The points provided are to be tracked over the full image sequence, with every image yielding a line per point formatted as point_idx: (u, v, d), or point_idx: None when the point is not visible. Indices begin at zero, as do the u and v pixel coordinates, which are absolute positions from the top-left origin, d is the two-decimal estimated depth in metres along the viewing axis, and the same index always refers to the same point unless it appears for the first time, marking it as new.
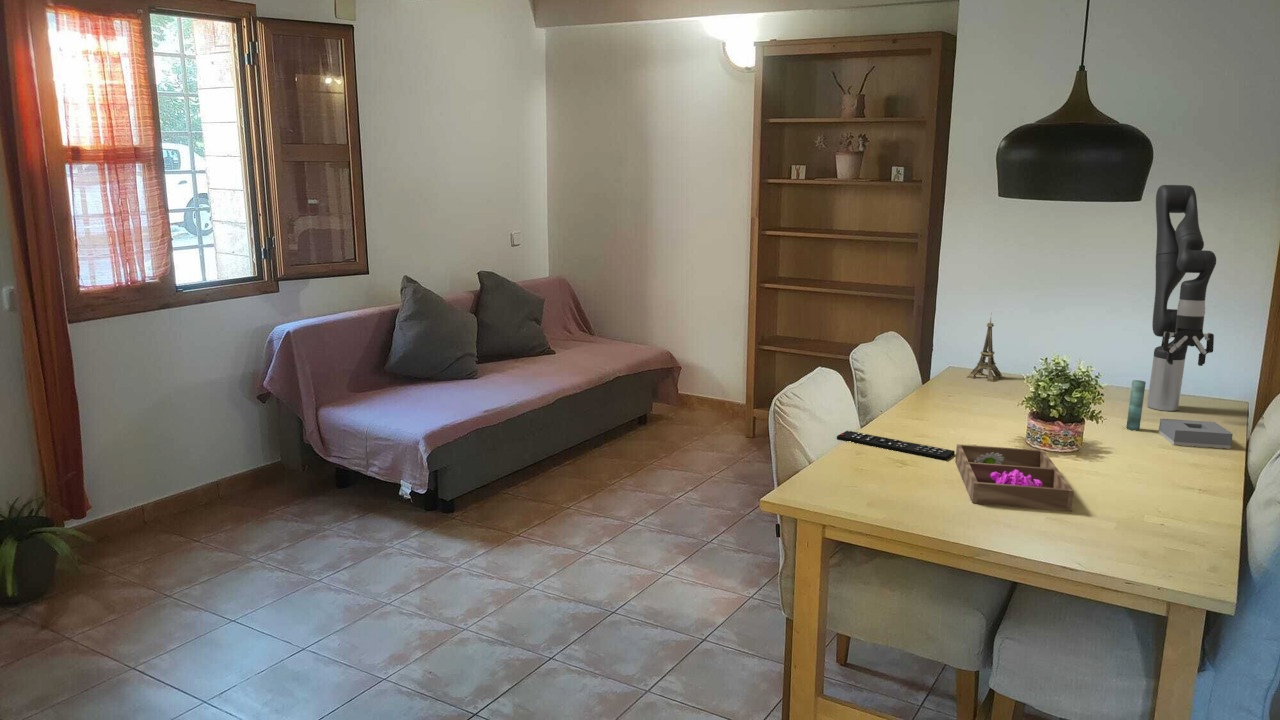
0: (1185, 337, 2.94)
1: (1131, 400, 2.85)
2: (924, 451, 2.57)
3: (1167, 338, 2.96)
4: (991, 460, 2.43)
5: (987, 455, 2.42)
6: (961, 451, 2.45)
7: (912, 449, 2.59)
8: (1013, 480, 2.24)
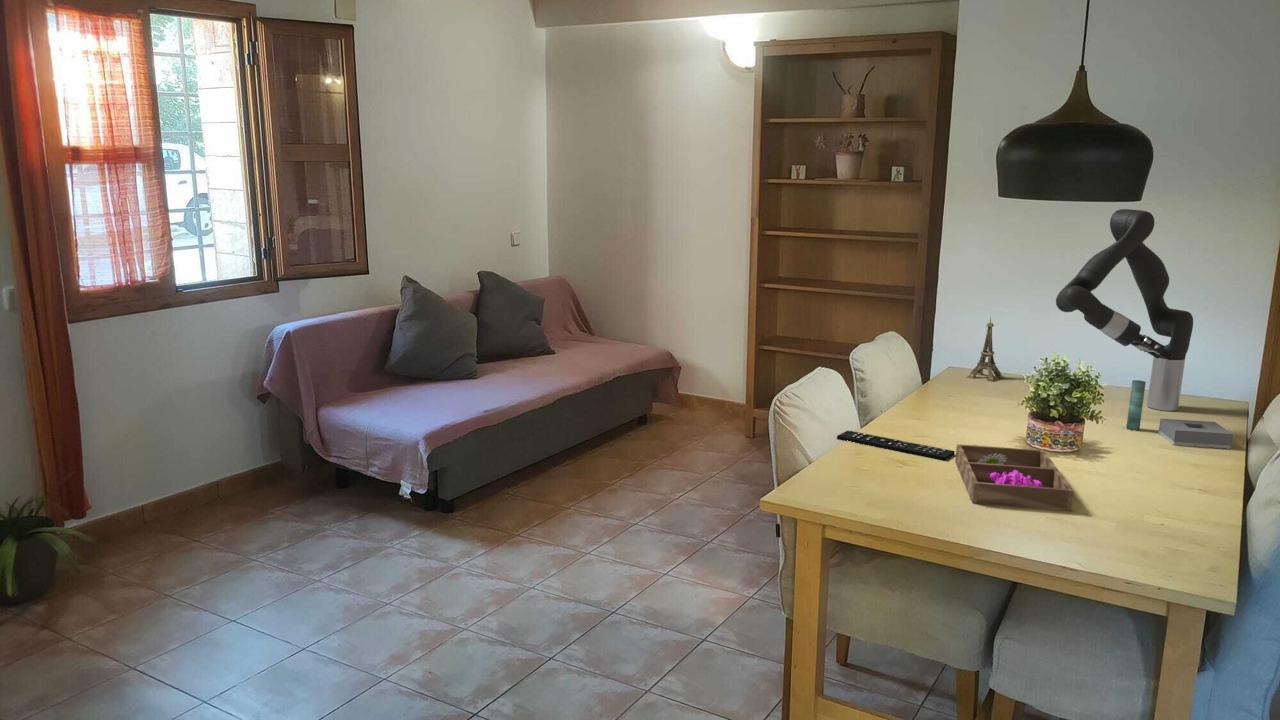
0: (1134, 346, 2.85)
1: (1131, 400, 2.85)
2: (924, 451, 2.57)
3: (1131, 344, 2.90)
4: (994, 461, 2.42)
5: (990, 456, 2.41)
6: (961, 451, 2.45)
7: (912, 449, 2.59)
8: (1013, 481, 2.24)
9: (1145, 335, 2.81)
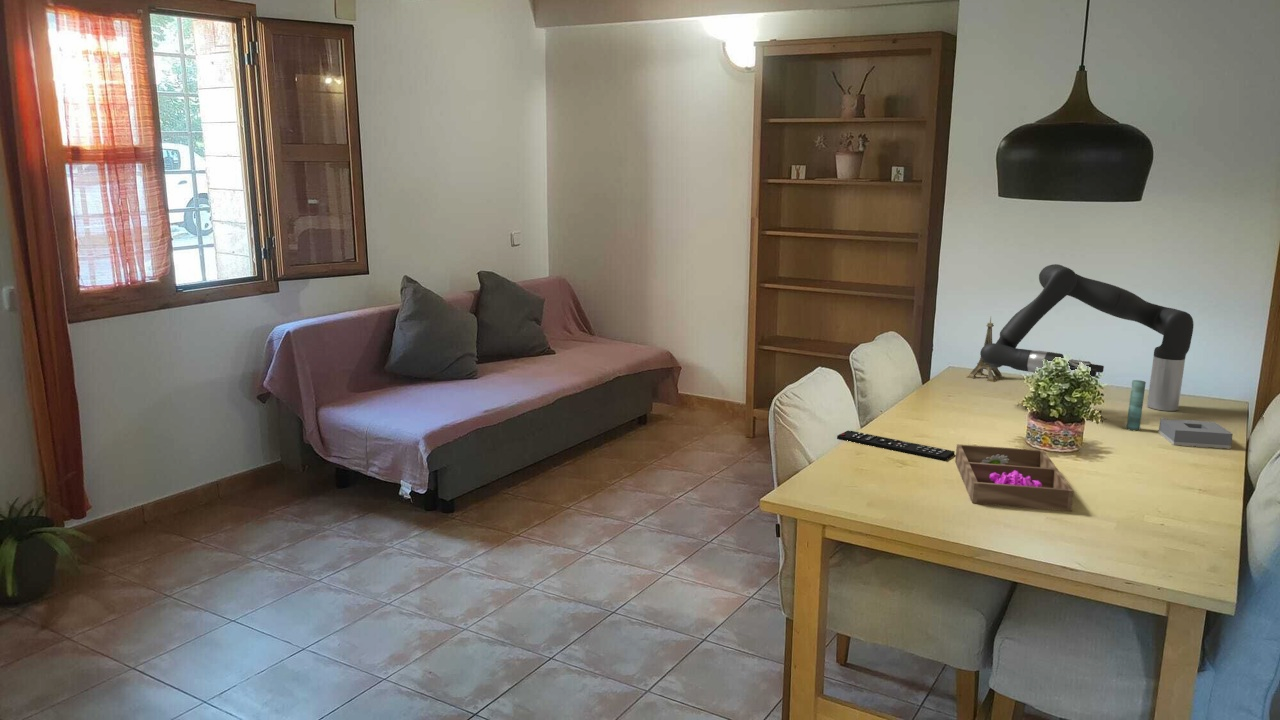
0: None
1: (1131, 400, 2.85)
2: (923, 451, 2.57)
3: None
4: (996, 462, 2.41)
5: (992, 457, 2.40)
6: (961, 451, 2.45)
7: (912, 449, 2.59)
8: (1012, 481, 2.23)
9: None
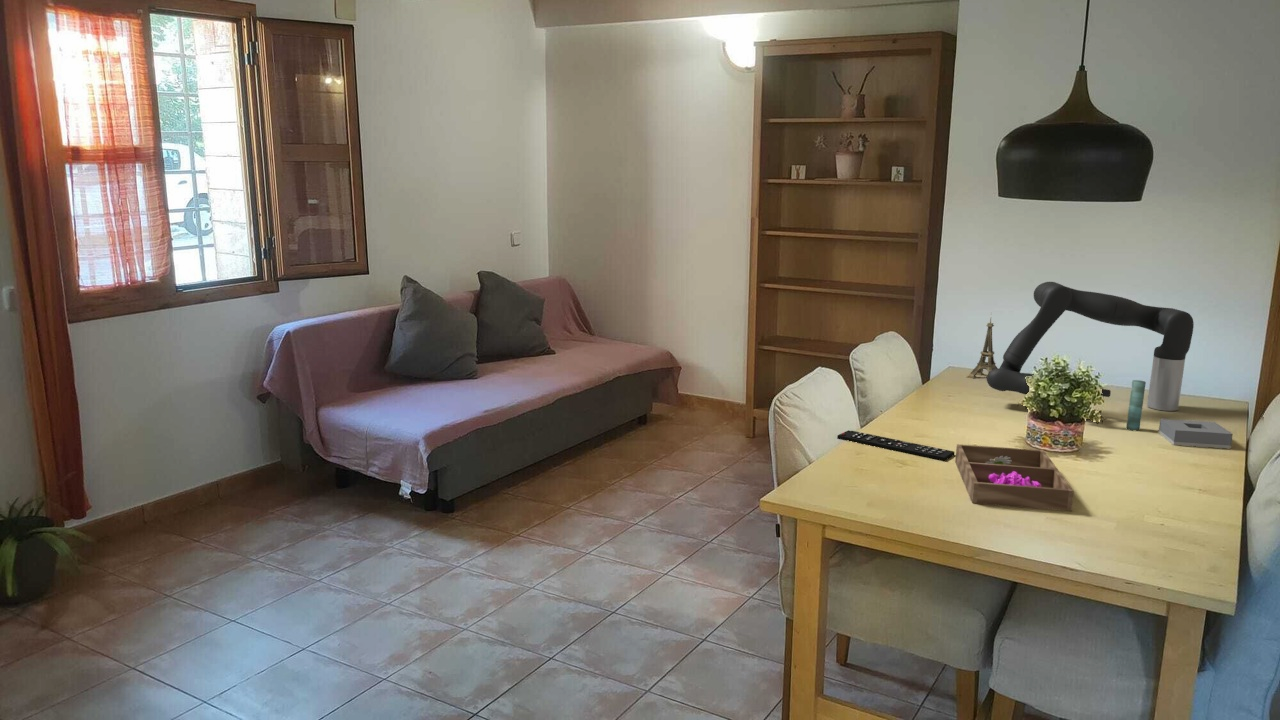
0: None
1: (1131, 400, 2.85)
2: (923, 451, 2.57)
3: None
4: None
5: (996, 459, 2.39)
6: (961, 451, 2.45)
7: (911, 449, 2.59)
8: (1011, 482, 2.23)
9: None
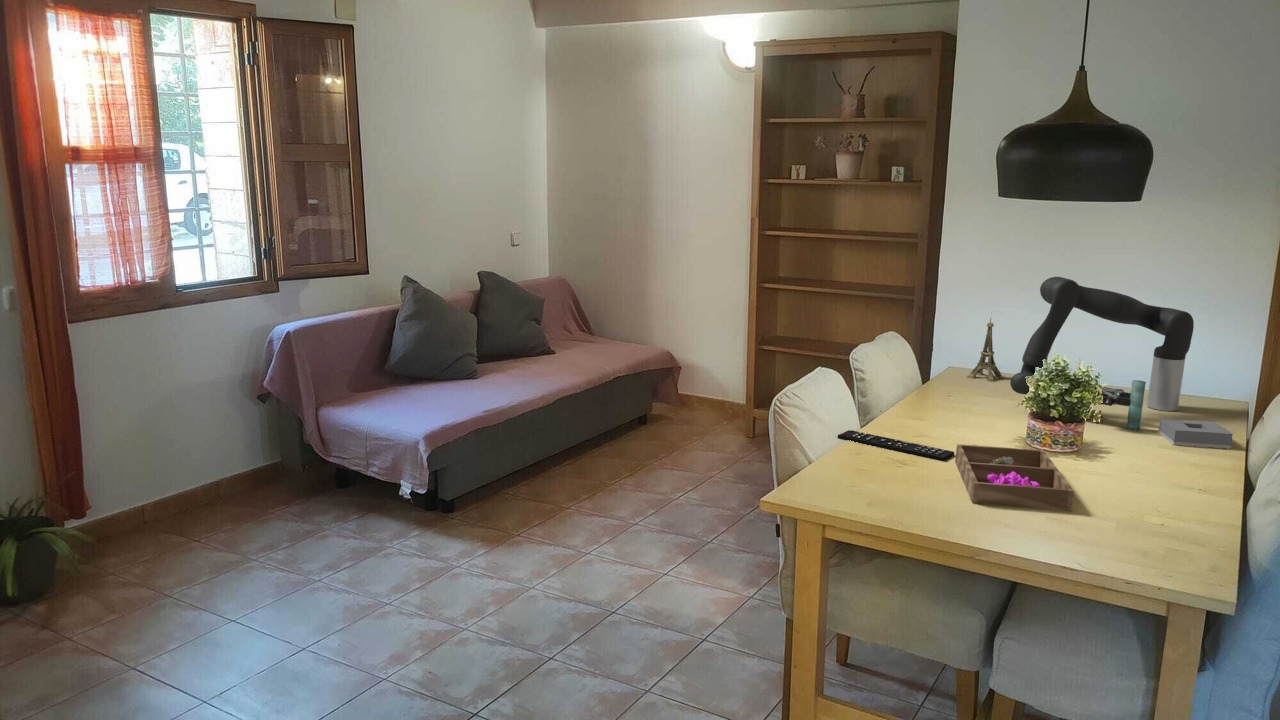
0: None
1: (1131, 400, 2.85)
2: (923, 451, 2.57)
3: None
4: (1002, 464, 2.39)
5: (999, 460, 2.38)
6: (961, 451, 2.45)
7: (911, 449, 2.59)
8: (1010, 482, 2.23)
9: None
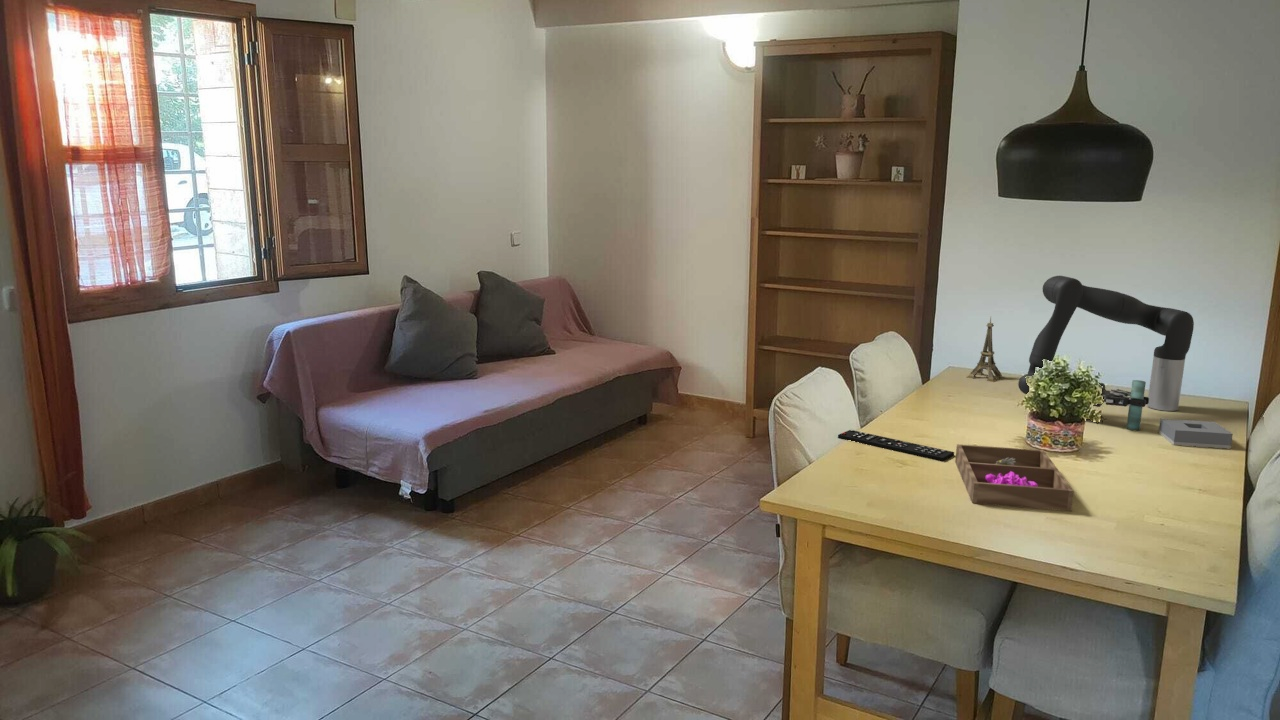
0: None
1: None
2: (922, 451, 2.57)
3: None
4: None
5: (1002, 461, 2.37)
6: (961, 451, 2.45)
7: (911, 449, 2.59)
8: (1009, 482, 2.23)
9: (1110, 391, 2.88)
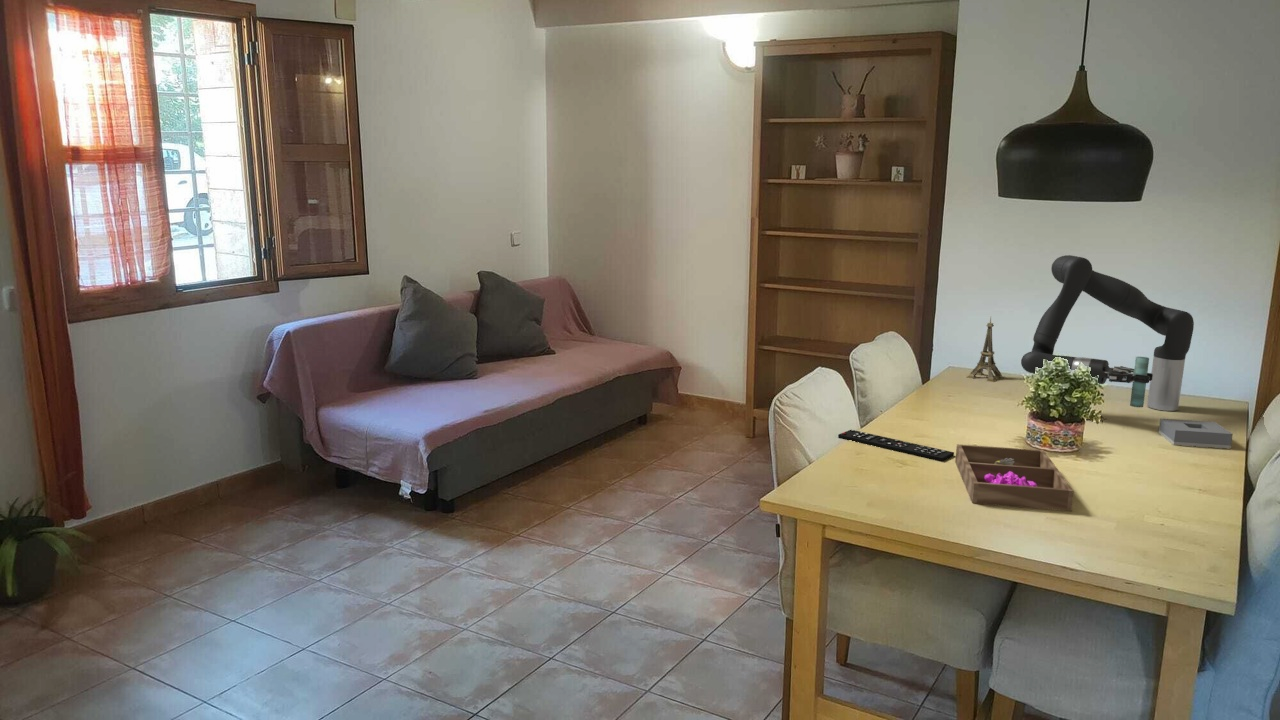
0: None
1: None
2: (922, 452, 2.57)
3: None
4: None
5: (1001, 461, 2.37)
6: (961, 451, 2.45)
7: (910, 449, 2.59)
8: (1008, 482, 2.23)
9: (1113, 368, 2.87)
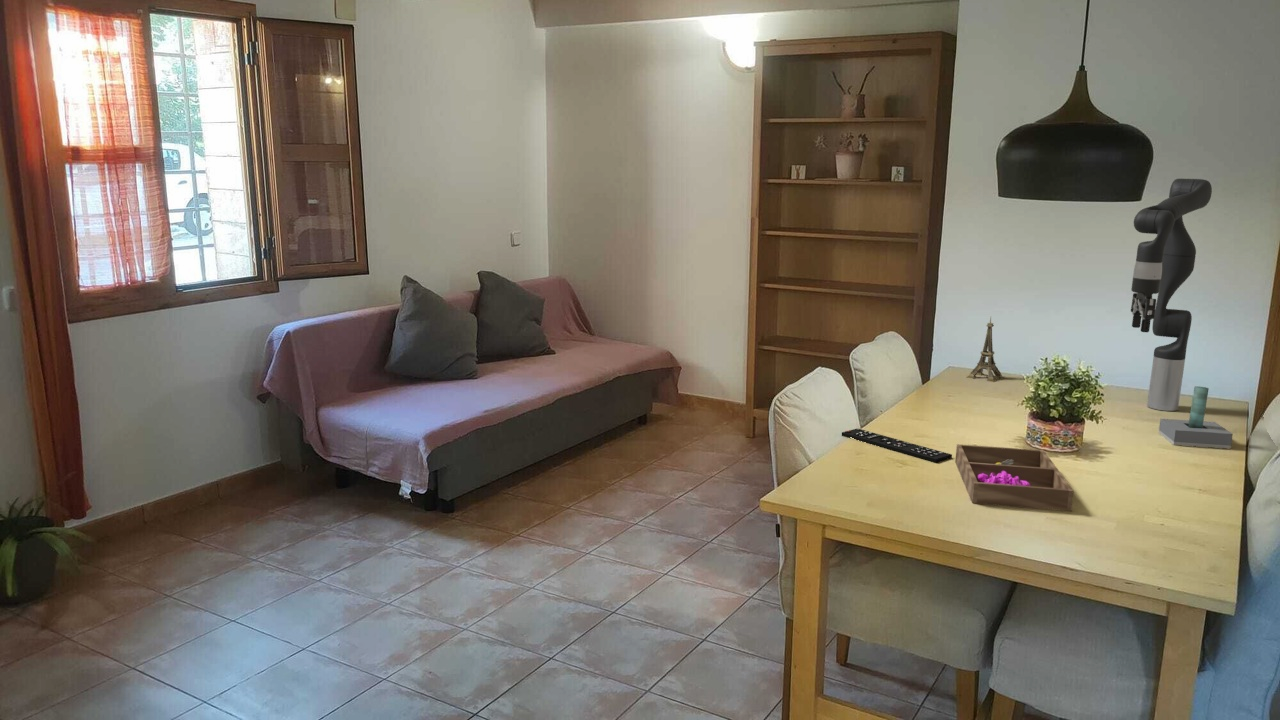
0: (1135, 299, 2.86)
1: (1193, 407, 2.74)
2: (918, 452, 2.56)
3: (1133, 299, 2.90)
4: None
5: (1002, 463, 2.36)
6: (961, 451, 2.45)
7: (907, 449, 2.59)
8: (1001, 482, 2.23)
9: None
